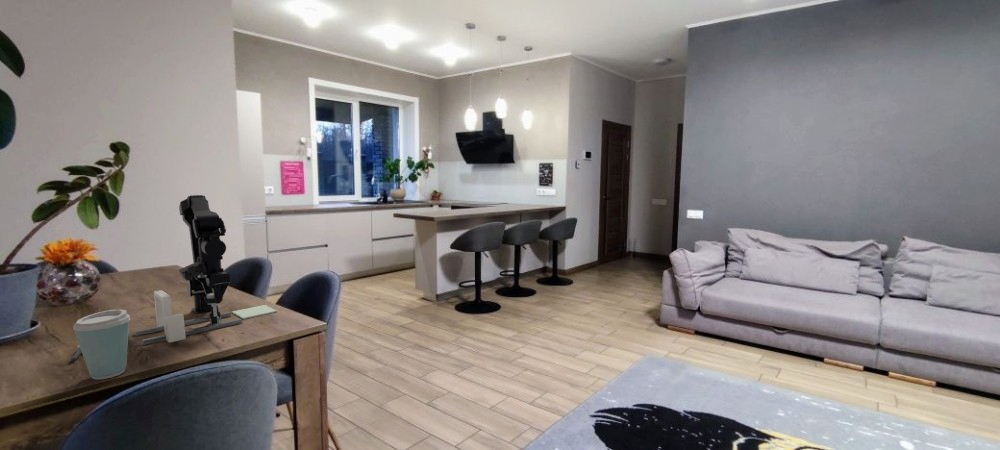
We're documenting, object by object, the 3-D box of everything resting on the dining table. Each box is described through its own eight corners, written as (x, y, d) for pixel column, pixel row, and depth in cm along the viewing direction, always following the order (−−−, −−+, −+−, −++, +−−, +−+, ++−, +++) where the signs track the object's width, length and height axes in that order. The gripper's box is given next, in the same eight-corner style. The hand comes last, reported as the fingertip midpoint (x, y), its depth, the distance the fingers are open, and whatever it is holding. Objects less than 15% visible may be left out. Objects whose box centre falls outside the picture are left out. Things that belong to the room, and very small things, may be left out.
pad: (232, 312, 162) (232, 311, 162) (264, 306, 170) (264, 304, 170) (243, 319, 154) (243, 318, 154) (276, 312, 162) (276, 310, 162)
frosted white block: (153, 327, 143) (149, 291, 141) (168, 323, 146) (165, 289, 144) (168, 342, 129) (165, 303, 128) (185, 338, 132) (182, 300, 131)
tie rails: (135, 334, 140) (134, 331, 140) (229, 315, 159) (229, 311, 159) (143, 345, 132) (143, 341, 131) (242, 322, 150) (242, 319, 150)
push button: (205, 322, 151) (202, 292, 150) (223, 319, 155) (221, 290, 153) (206, 327, 146) (204, 297, 145) (226, 324, 149) (223, 294, 148)
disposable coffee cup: (104, 385, 106) (97, 322, 104) (66, 382, 108) (58, 320, 106) (146, 366, 117) (140, 309, 115) (111, 364, 118) (105, 307, 117)
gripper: (172, 253, 148) (176, 300, 150) (188, 260, 136) (192, 312, 137) (211, 249, 156) (215, 293, 158) (230, 255, 144) (233, 304, 146)
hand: (213, 300), depth 150 cm, fingers open, 9 cm apart
